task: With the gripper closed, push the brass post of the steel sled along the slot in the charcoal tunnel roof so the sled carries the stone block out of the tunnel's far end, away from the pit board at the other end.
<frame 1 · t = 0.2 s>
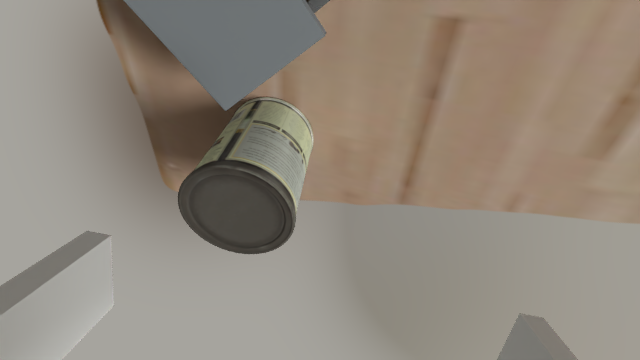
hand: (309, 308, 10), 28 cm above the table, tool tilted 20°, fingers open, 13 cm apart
coffee can: (273, 135, 39), on the table
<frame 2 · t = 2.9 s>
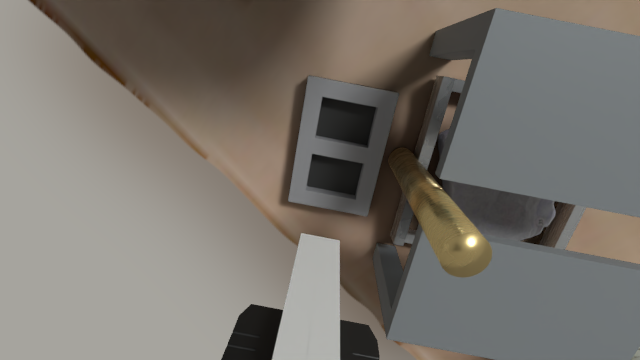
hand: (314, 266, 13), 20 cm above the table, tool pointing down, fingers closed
pit board: (339, 147, 31), on the table
tunnel: (491, 176, 31), on the table
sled: (530, 212, 23), point 9 cm above the table, slide at 0.0 cm, touching stone block
stone block: (490, 175, 31), on the table, touching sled
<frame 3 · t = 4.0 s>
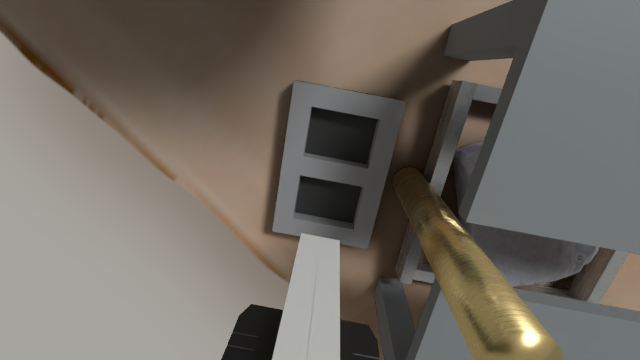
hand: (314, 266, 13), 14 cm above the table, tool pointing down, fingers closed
pit board: (334, 166, 26), on the table
tunnel: (516, 200, 26), on the table
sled: (580, 258, 17), point 9 cm above the table, slide at 0.0 cm, touching stone block
stone block: (516, 200, 26), on the table, touching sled
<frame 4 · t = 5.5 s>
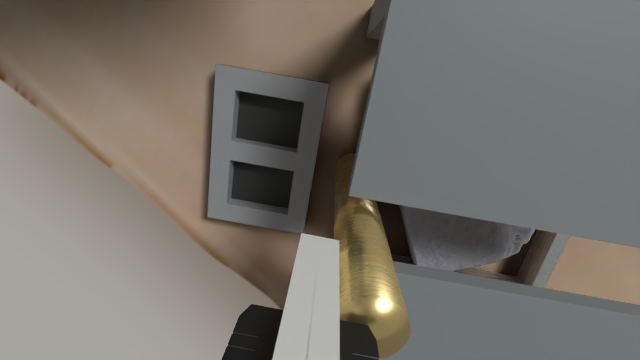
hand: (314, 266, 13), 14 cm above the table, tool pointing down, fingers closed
pit board: (267, 151, 26), on the table
tunnel: (450, 184, 26), on the table
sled: (498, 238, 17), point 9 cm above the table, slide at 0.9 cm, touching gripper, stone block
stone block: (455, 183, 26), on the table, touching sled
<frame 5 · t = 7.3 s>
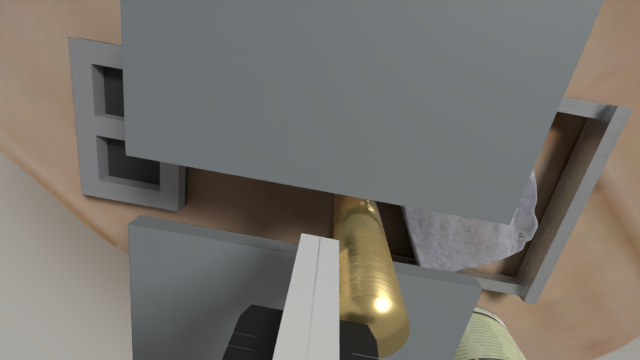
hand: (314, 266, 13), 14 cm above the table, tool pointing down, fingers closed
pit board: (139, 128, 26), on the table
tunnel: (322, 161, 26), on the table
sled: (497, 238, 18), point 9 cm above the table, slide at 11.3 cm, touching gripper, stone block
coffee can: (454, 344, 31), on the table
stone block: (456, 183, 26), on the table, touching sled
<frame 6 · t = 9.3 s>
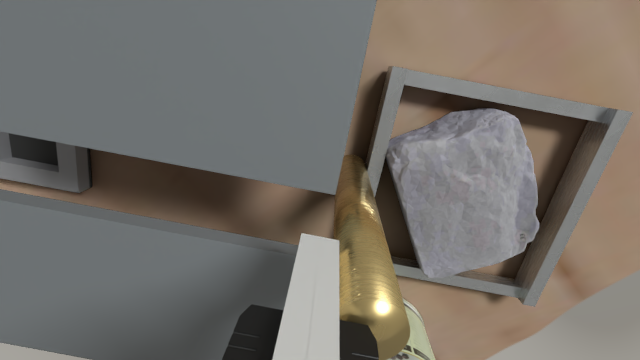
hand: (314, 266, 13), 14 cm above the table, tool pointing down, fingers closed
pit board: (38, 108, 26), on the table
tunnel: (222, 143, 26), on the table
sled: (497, 241, 18), point 9 cm above the table, slide at 19.5 cm, touching gripper, stone block
coffee can: (371, 330, 31), on the table
stone block: (456, 185, 26), on the table, touching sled
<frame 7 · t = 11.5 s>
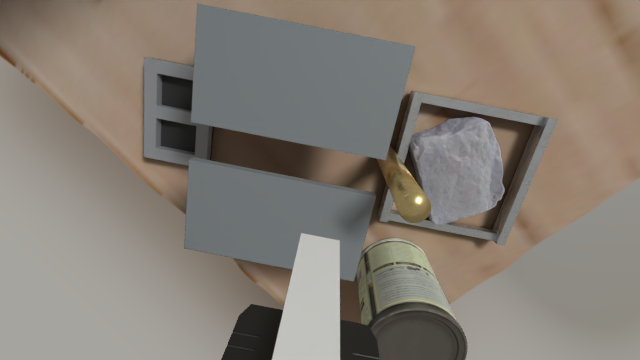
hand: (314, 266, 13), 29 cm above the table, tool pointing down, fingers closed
pit board: (182, 114, 40), on the table
tunnel: (299, 137, 40), on the table
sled: (474, 190, 32), point 9 cm above the table, slide at 19.9 cm, touching stone block
coffee can: (392, 268, 45), on the table
stone block: (453, 166, 40), on the table, touching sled
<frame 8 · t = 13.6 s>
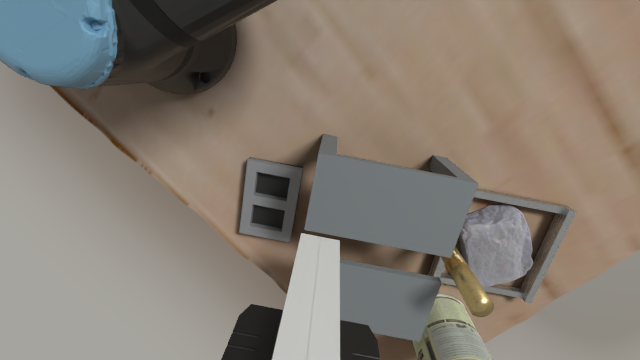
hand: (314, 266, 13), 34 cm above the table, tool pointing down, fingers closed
pit board: (271, 199, 49), on the table
tunnel: (366, 217, 49), on the table
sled: (514, 274, 41), point 9 cm above the table, slide at 19.9 cm, touching stone block
coffee can: (436, 316, 55), on the table
stone block: (490, 239, 49), on the table, touching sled
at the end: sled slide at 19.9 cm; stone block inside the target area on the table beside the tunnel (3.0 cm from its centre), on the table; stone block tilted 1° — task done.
